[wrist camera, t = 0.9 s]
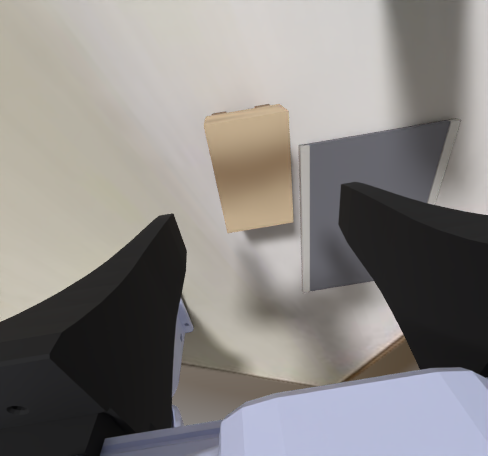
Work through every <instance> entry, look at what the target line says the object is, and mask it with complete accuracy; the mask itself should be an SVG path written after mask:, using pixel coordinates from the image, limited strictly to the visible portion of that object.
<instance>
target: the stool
mask: <svg viewBox="0 0 488 456" xmlns="http://www.w3.org/2000/svg"><path fill="white" fill-rule="evenodd" d="M204 129H205V133H206V138H207V142H208V147H209V151H210V156H211V160H212V165H213V169H214V174H215V179H216V183H217V188H218V192H219V197H220V201H221V206H222V210H223V215H224V219H225V224H226V228H227V233H232V232H238V231H244V230H250V229H256V228H262V227H268V226H274V225H280V224H286V223H292V222H293V203H292V180H291V157H290V134H289V111H288V110H287V109H285V108H284V107H283V106H281V105H280V104H276V105H269V104H266V105H261V106H255V108H253V109H247V110H241V111H236V112H230V113H226V112H220V113H214V114H212V116H207V117H206V118H205V122H204Z"/></svg>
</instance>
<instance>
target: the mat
mask: <svg viewBox="0 0 488 456" xmlns="http://www.w3.org/2000/svg"><path fill="white" fill-rule="evenodd" d="M460 122H461V120H459V119H451V120H445V121H439V122H433V123H427V124H422V125H416V126H410V127H404V128H398V129H392V130H386V131H380V132H375V133H369V134H363V135H357V136H351V137H345V138H339V139H333V140H327V141H322V142H316V143H310V144H304V145H299V181H300V221H301V262H302V290H303V293H307V292H310V291H315V290H321V289H327V288H333V287H339V286H346V285H352V284H358V283H364V282H370V281H374V280H373V279H372V277H371V276H370V274H369V273H368V272H367V270H366V269H365V267H364V266H363V265H362V263H361V262H360V260H359V259H358V258H357V256H356V255H355V253H354V252H353V250H352V249H351V248H350V246H349V245H348V243H347V241H346V239H345V237H344V235H343V233H342V231H341V229H340V227H339V225H338V222H339V206H340V191H341V184H345V183H351V182H360V183H364V184H367V185H370V186H374V187H377V188H380V189H383V190H386V191H389V192H392V193H395V194H398V195H401V196H404V197H407V198H411V199H414V200H418V201H421V202H425V203H428V204H432V205H435V202H436V199H437V196H438V193H439V190H440V186H441V183H442V180H443V177H444V173H445V170H446V167H447V164H448V161H449V157H450V154H451V151H452V148H453V145H454V141H455V138H456V135H457V132H458V129H459V125H460Z"/></svg>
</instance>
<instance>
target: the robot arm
mask: <svg viewBox="0 0 488 456" xmlns="http://www.w3.org/2000/svg"><path fill="white" fill-rule="evenodd" d="M338 225H339V227H340V229H341V231H342V233H343V235H344V237H345V239H346V241H347V243H348V245H349V246H350V248H351V249H352V250H353V252H354V253H355V255H356V256H357V258H358V259H359V260H360V262H361V263H362V265H363V266H364V267H365V269H366V270H367V272H368V273H369V274H370V276H371V277H372V279H373V280H374V281H375V283H376V285H377V286H378V288H379V289H380V291H381V293H382V294H383V296H384V298H385V300H386V302H387V304H388V305H389V307H390V309H391V311H392V313H393V315H394V317H395V319H396V321H397V322H398V324H399V326H400V328H401V330H402V332H403V334H404V336H405V338H406V340H407V342H408V345H409V347H410V349H411V351H412V353H413V355H414V357H415V359H416V362H417V364H418V366H419V368H420V370H416V371H410V372H404V373H397V374H391V375H385V376H379V377H373V378H366V379H360V380H354V381H348V382H341V383H335V384H329V385H323V386H317V387H310V388H304V389H298V390H292V391H286V392H279V393H275V394H271V395H268V396H264V397H261V398H258V399H254V400H250V401H247V402H245V403H243V404H242V405H241V406H239V407H238V408H236V409H235V410H234V411H232V412H231V413H229V414H228V415H227V416H226V417H225V418H224V420H217V421H211V422H205V423H199V424H193V425H186V426H184V425H183V420H182V418H181V414H180V411H179V409H178V407H177V406H175V405H172V397H173V395H174V394H175V392H176V389H177V386H178V383H179V377H180V369H181V361H182V353H183V345H184V337H185V333H188V332H192V331H193V328H194V327H193V324H192V322H191V320H190V317H189V315H188V312H187V310H186V308H185V305H184V303H183V300H182V298H181V293H182V288H183V283H184V278H185V272H186V254H187V250H186V248H185V245H184V242H183V239H182V236H181V234H180V231H179V228H178V225H177V222H176V220H175V217H174V214H167V215H161V216H158V217H157V218H156V219H155V220H153V221H152V222H151V223H150V224H149V225H148V226H147V227H146V228H145V229H143V230H142V231H141V232H140V233H139V234H138V235H137V236H136V237H135V238H134V239H133V240H132V241H130V242H129V243H128V244H127V245H126V246H125V247H123V248H122V249H121V250H120V251H119V252H117V253H116V254H115V255H114V256H113V257H111V258H110V259H109V260H108V261H106V262H105V263H104V264H102V265H101V266H100V267H98V268H97V269H95V270H94V271H92V272H91V273H90V274H88V275H87V276H85V277H84V278H82V279H80V280H79V281H77V282H75V283H74V284H72V285H70V286H69V287H67V288H66V289H64V290H62V291H61V292H59V293H57V294H55V295H54V296H52V297H50V298H48V299H46V300H44V301H43V302H41V303H39V304H37V305H35V306H33V307H31V308H29V309H27V310H25V311H23V312H21V313H19V314H17V315H15V316H13V317H10V318H8V319H6V320H4V321H2V322H0V456H488V215H482V214H476V213H470V212H464V211H459V210H455V209H450V208H445V207H440V206H436V205H432V204H428V203H425V202H421V201H418V200H414V199H411V198H407V197H404V196H401V195H398V194H395V193H392V192H389V191H386V190H383V189H380V188H377V187H374V186H370V185H367V184H364V183H360V182H351V183H345V184H341V191H340V206H339V222H338Z"/></svg>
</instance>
